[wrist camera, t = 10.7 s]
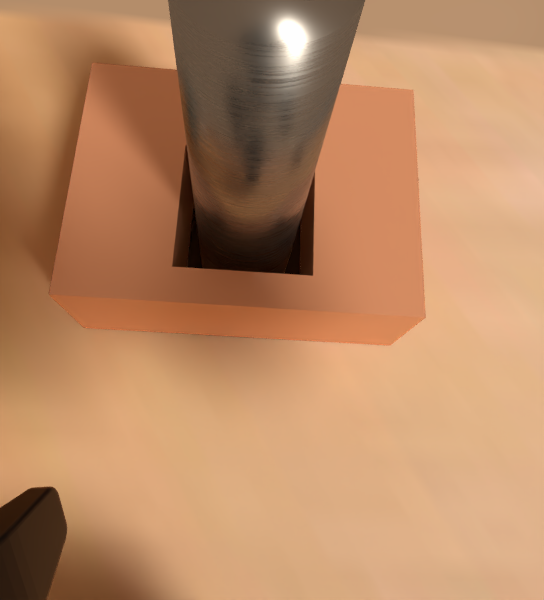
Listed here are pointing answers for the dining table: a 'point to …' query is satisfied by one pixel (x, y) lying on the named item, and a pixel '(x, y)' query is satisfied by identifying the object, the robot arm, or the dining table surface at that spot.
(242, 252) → the peg
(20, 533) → the robot arm
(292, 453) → the dining table surface
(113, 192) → the socket block
